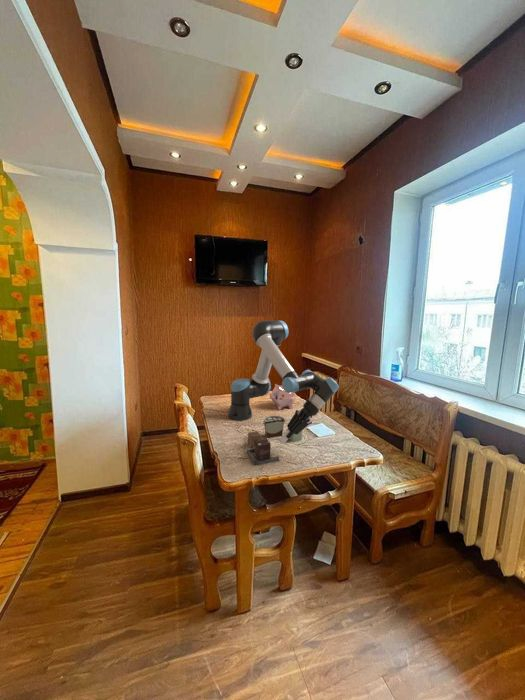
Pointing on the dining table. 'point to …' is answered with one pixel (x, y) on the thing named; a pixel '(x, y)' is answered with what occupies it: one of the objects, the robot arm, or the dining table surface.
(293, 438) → the sage green block
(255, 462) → the corral
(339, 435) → the dining table surface
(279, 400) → the piggy bank
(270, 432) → the food container
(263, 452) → the box
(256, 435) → the walnut block
